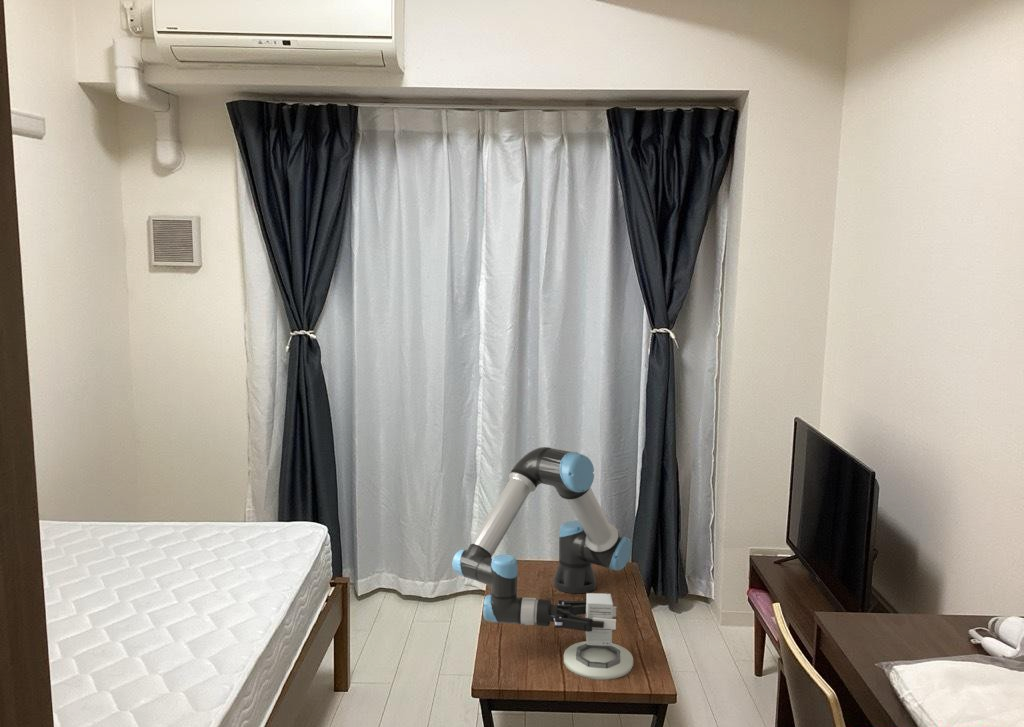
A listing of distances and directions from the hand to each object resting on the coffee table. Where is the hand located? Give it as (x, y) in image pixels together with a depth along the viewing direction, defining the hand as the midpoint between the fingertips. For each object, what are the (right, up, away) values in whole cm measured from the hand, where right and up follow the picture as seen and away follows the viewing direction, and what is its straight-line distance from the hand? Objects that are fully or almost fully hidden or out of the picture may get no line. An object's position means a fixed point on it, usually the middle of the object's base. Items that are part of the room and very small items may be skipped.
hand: (615, 617), depth 229 cm
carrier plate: (-5, -14, +3) cm, 15 cm away
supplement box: (-5, -7, +1) cm, 9 cm away
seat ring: (-5, -12, +2) cm, 13 cm away
